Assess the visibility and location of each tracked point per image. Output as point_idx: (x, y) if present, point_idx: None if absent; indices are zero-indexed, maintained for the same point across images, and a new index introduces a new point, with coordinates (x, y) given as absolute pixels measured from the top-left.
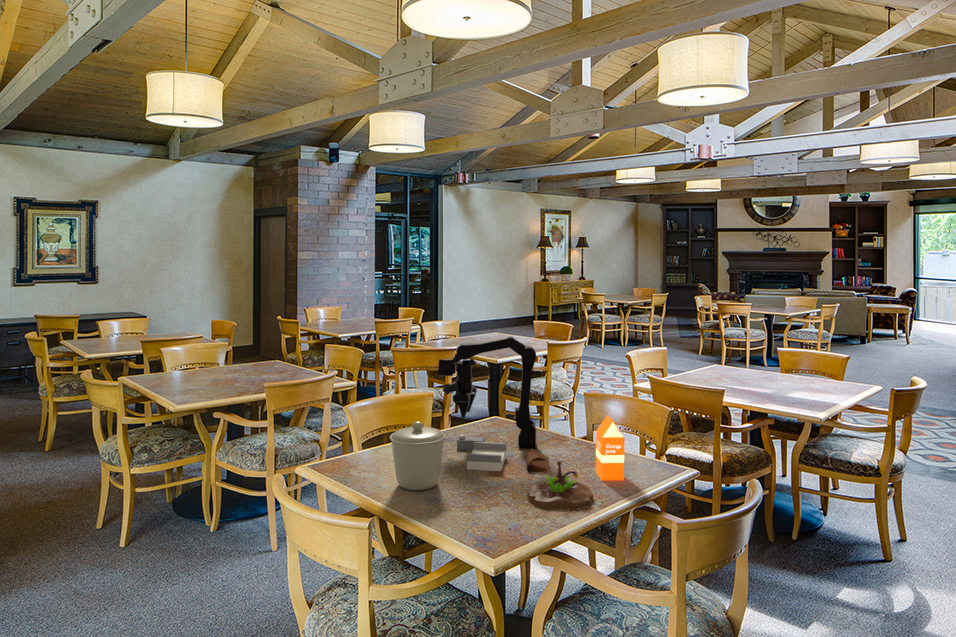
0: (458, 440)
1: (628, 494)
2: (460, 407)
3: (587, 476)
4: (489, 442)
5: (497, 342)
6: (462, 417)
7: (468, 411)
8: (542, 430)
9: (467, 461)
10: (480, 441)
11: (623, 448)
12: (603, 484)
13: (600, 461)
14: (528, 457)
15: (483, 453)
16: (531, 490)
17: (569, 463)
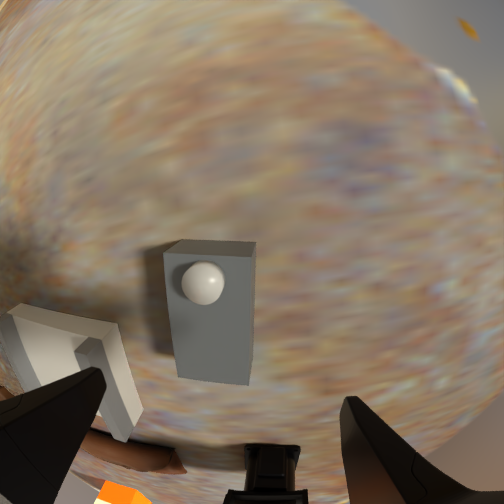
0: (164, 261)
1: (80, 476)
2: (6, 415)
3: (110, 476)
4: (103, 404)
5: None
6: (93, 370)
7: (341, 416)
8: (436, 448)
9: (7, 313)
10: (177, 369)
11: None
12: (93, 475)
13: (103, 500)
14: (104, 447)
15: (67, 364)
16: (3, 396)
17: (161, 483)
